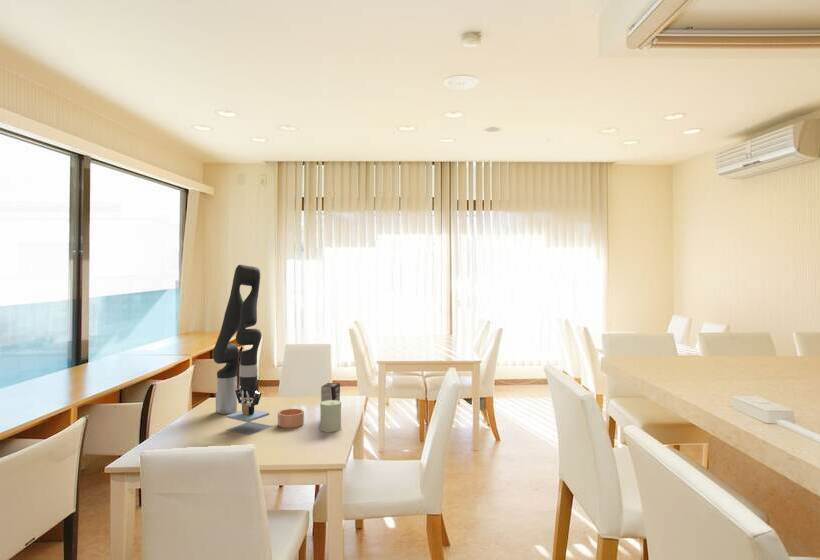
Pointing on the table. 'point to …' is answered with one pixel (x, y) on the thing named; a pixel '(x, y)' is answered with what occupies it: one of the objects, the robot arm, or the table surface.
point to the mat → (249, 428)
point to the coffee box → (330, 392)
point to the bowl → (290, 418)
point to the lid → (247, 414)
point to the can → (330, 415)
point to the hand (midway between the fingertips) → (248, 413)
